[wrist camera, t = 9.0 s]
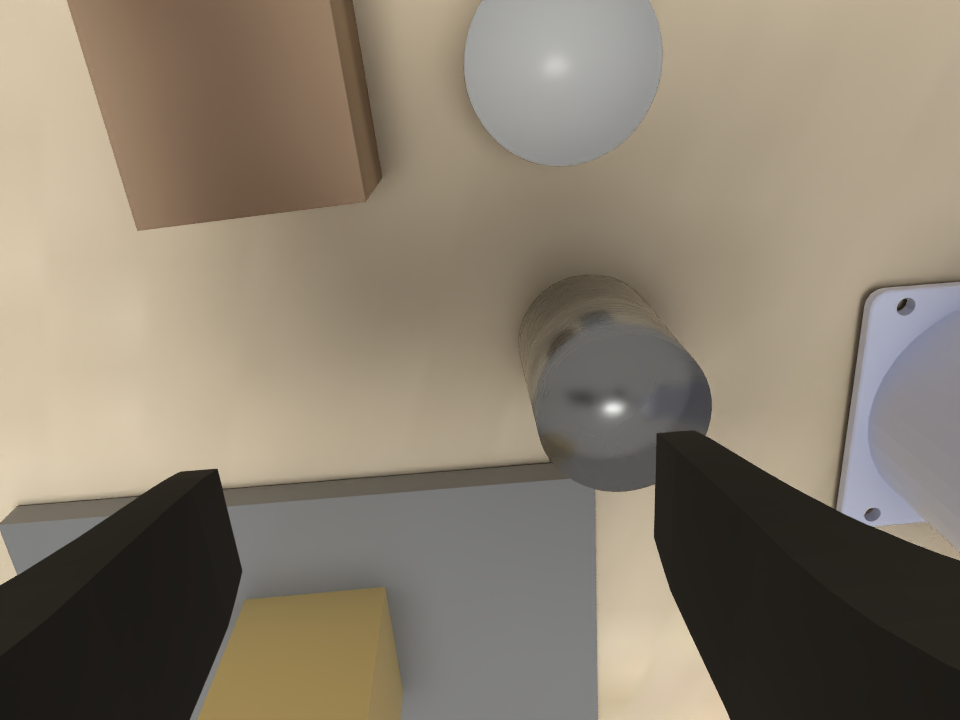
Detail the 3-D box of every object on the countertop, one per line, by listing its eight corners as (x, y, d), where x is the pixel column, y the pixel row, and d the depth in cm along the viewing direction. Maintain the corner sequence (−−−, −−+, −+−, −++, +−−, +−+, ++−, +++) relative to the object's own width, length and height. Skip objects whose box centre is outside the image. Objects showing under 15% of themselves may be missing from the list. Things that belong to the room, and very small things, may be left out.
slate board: (588, 459, 22) (594, 476, 21) (593, 736, 27) (598, 760, 26) (17, 506, 22) (-3, 525, 21) (118, 775, 27) (106, 800, 26)
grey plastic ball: (627, -19, 17) (673, -48, 14) (614, 150, 19) (651, 167, 15) (463, -22, 17) (464, -52, 13) (463, 149, 19) (463, 165, 15)
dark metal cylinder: (655, 269, 20) (716, 326, 15) (652, 396, 22) (707, 484, 17) (514, 280, 20) (533, 342, 15) (522, 407, 22) (541, 498, 17)
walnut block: (347, -34, 17) (317, -64, 13) (382, 176, 19) (365, 201, 15) (143, -7, 17) (58, -29, 13) (199, 200, 19) (137, 230, 15)
